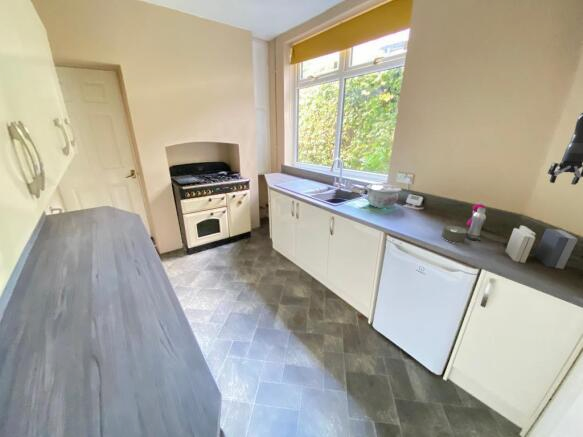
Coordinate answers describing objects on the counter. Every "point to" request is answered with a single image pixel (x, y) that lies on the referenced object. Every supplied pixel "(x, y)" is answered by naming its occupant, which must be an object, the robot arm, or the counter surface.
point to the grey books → (555, 248)
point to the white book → (527, 230)
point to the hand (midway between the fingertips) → (562, 183)
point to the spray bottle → (475, 211)
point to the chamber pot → (381, 195)
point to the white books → (519, 245)
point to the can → (454, 233)
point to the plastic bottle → (477, 223)
